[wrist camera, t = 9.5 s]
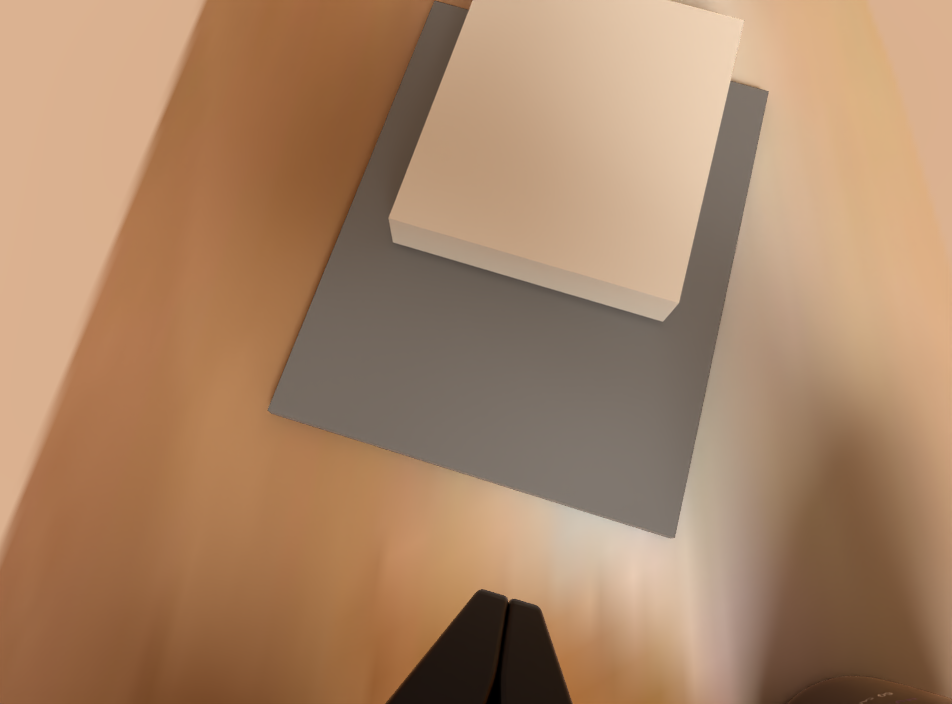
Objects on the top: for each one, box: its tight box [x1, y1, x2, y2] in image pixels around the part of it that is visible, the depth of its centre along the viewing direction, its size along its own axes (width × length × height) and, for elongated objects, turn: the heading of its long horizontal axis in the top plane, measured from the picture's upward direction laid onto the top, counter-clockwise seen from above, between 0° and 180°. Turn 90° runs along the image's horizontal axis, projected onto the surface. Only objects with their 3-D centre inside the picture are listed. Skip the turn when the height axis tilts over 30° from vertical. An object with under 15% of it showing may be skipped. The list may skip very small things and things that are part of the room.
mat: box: [268, 1, 769, 538], centre depth 25 cm, size 18×14×1 cm
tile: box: [388, 0, 744, 322], centre depth 25 cm, size 2×10×12 cm
